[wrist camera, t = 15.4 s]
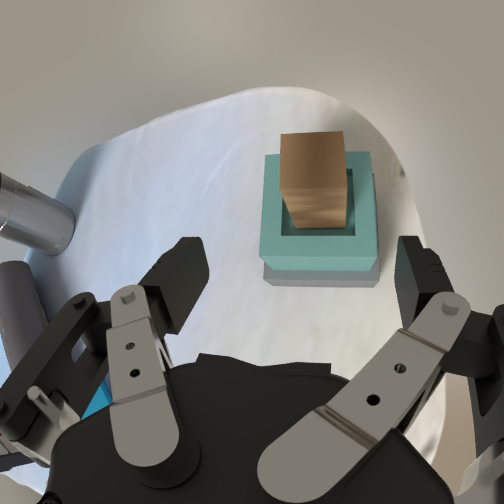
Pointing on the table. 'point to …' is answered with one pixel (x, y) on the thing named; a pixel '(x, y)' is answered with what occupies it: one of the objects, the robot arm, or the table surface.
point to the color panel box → (11, 456)
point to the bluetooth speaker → (19, 310)
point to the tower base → (322, 234)
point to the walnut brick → (314, 179)
